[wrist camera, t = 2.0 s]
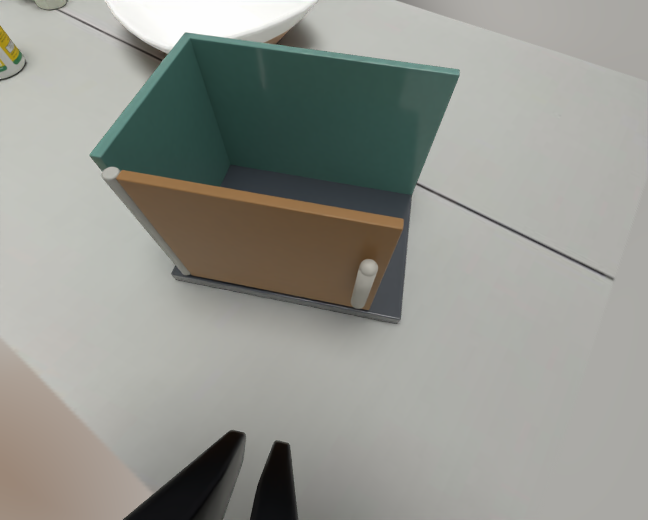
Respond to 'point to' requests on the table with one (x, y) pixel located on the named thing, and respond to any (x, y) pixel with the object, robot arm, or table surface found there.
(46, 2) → the valve
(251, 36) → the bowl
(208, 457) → the robot arm
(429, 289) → the table surface
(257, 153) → the shower stall
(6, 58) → the supplement bottle
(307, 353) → the table surface
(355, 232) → the brown hinged door
